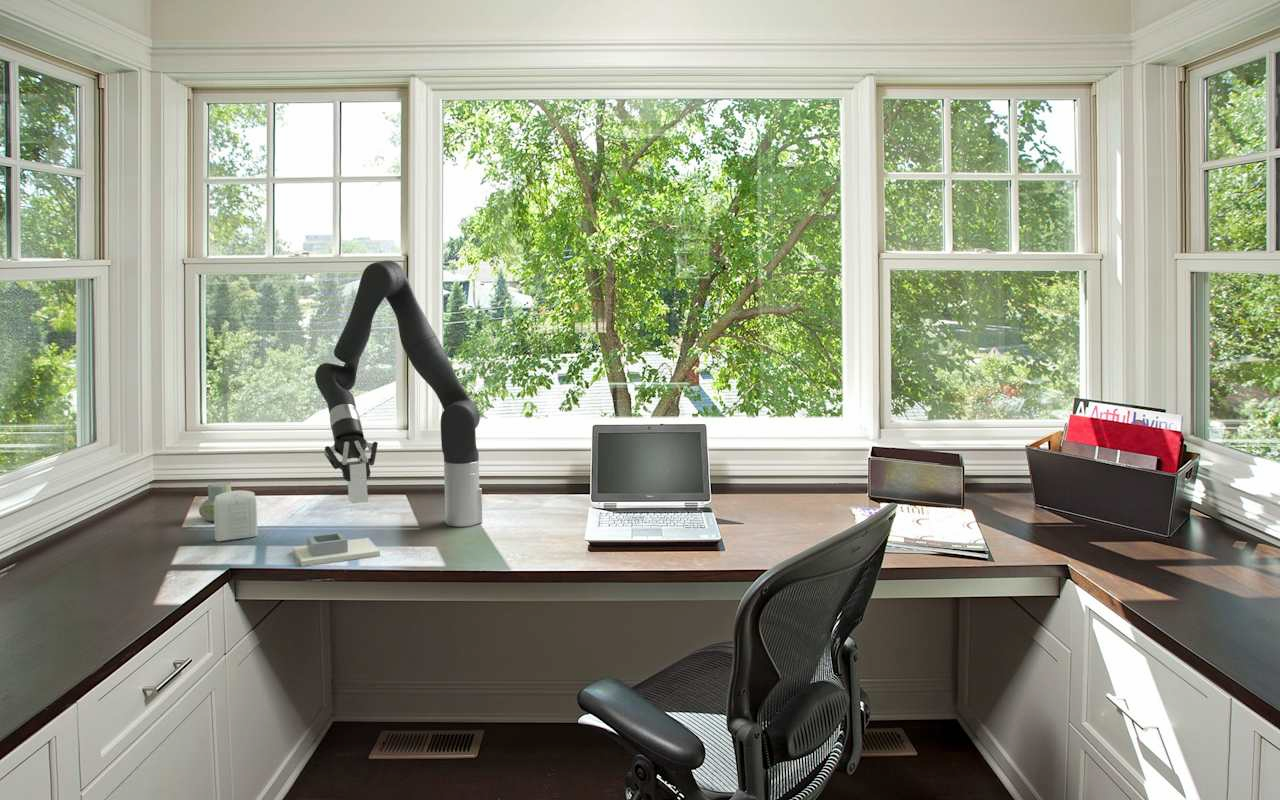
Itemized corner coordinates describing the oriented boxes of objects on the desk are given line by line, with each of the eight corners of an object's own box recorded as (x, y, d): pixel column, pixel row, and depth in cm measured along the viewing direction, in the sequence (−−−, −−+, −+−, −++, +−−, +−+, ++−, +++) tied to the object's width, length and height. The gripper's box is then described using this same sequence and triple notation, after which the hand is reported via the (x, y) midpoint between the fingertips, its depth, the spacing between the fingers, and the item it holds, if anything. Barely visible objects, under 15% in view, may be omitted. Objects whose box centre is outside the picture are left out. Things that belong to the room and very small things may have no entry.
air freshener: (194, 522, 264) (191, 486, 262) (214, 514, 272) (212, 479, 270) (228, 524, 261) (226, 488, 260) (248, 517, 269) (246, 482, 268)
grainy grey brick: (364, 498, 251) (362, 460, 250) (367, 501, 247) (365, 463, 246) (348, 500, 249) (346, 462, 248) (351, 503, 246) (349, 465, 244)
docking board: (368, 542, 244) (367, 526, 244) (379, 555, 233) (379, 538, 232) (293, 551, 236) (292, 535, 235) (301, 566, 224) (300, 548, 224)
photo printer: (256, 533, 252) (253, 487, 251) (259, 537, 249) (257, 490, 247) (213, 539, 247) (211, 491, 245) (217, 543, 243) (214, 495, 242)
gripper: (319, 419, 250) (330, 473, 241) (374, 414, 256) (387, 467, 247) (317, 436, 255) (327, 490, 246) (371, 431, 261) (384, 483, 252)
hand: (357, 478), depth 247 cm, fingers closed on grainy grey brick, 4 cm apart
